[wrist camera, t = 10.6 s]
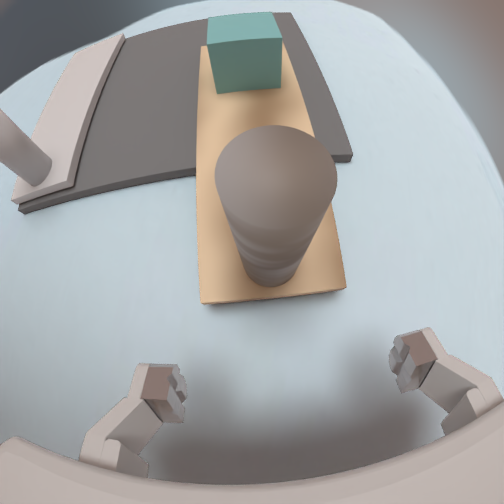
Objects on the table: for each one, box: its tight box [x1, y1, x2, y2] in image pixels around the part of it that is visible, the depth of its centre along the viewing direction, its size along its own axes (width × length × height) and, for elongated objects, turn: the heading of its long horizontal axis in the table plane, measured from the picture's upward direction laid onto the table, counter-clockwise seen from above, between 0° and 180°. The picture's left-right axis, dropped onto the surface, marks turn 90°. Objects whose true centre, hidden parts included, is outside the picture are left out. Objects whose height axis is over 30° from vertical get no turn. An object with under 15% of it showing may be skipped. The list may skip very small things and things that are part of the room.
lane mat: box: [18, 13, 353, 214], centre depth 22 cm, size 30×25×1 cm
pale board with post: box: [0, 34, 125, 204], centre depth 17 cm, size 8×24×10 cm, turn 5°
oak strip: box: [196, 41, 346, 305], centre depth 14 cm, size 8×24×10 cm, turn 5°
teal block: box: [207, 12, 282, 94], centre depth 17 cm, size 5×5×5 cm
